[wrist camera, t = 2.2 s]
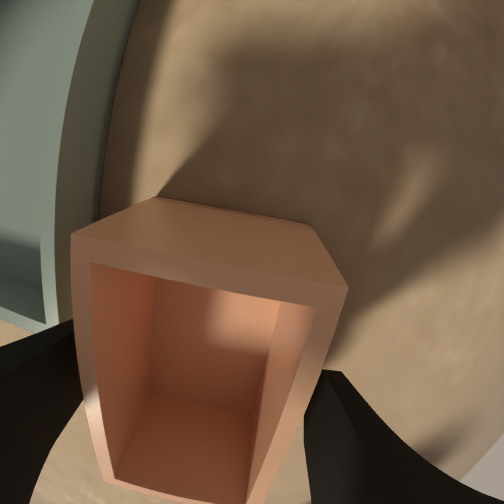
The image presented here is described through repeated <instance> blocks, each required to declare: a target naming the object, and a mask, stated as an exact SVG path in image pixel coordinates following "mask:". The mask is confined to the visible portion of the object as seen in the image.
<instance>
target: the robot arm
mask: <svg viewBox="0 0 504 504" xmlns="http://www.w3.org/2000/svg"><path fill="white" fill-rule="evenodd" d="M83 399H84V398H83V392H82V386H81V380H80V374H79V367H78V360H77V352H76V343H75V334H74V323H73V319H70V320H68V321H65V322H62V323H60V324H57V325H55V326H53V327H50V328H48V329H45V330H43V331H41V332H38V333H36V334H33V335H31V336H28V337H26V338H23V339H21V340H18V341H15V342H12V343H9V344H7V345H4V346H1V347H0V504H29V502H30V499H31V496H32V493H33V490H34V488H35V485H36V482H37V480H38V477H39V475H40V472H41V470H42V468H43V465H44V463H45V461H46V459H47V457H48V454H49V452H50V450H51V448H52V447H53V445H54V443H55V441H56V440H57V438H58V437H59V435H60V434H61V432H62V431H63V429H64V428H65V426H66V425H67V423H68V422H69V420H70V419H71V417H72V416H73V414H74V413H75V411H76V410H77V408H78V407H79V405H80V404H81V402H82V401H83ZM304 448H305V455H306V463H307V470H308V478H309V485H310V493H311V502H312V504H504V501H502V500H499V499H496V498H494V497H491V496H488V495H486V494H483V493H481V492H479V491H476V490H474V489H472V488H470V487H468V486H466V485H464V484H462V483H460V482H459V481H457V480H455V479H454V478H452V477H450V476H448V475H447V474H445V473H444V472H442V471H441V470H439V469H438V468H436V467H435V466H433V465H432V464H431V463H429V462H428V461H427V460H425V459H424V458H423V457H421V456H420V455H419V454H418V453H417V452H415V451H414V450H413V449H412V448H410V447H409V446H408V445H407V444H406V443H405V442H404V441H403V440H402V439H400V438H399V437H398V436H397V435H396V434H395V433H394V432H393V431H392V430H391V429H390V428H389V427H388V426H387V425H386V423H385V422H384V421H383V420H382V419H381V418H380V417H379V416H378V415H377V414H376V412H375V411H374V410H373V409H372V408H371V407H370V406H369V404H368V403H367V402H366V401H365V400H364V398H363V397H362V396H361V395H360V394H359V392H358V391H357V390H356V389H355V388H354V386H353V385H352V384H351V383H350V381H349V380H348V379H347V378H346V377H345V375H344V374H343V373H342V372H341V371H333V370H324V369H322V371H321V374H320V376H319V379H318V382H317V384H316V387H315V389H314V392H313V394H312V397H311V399H310V402H309V404H308V407H307V409H306V412H305V414H304Z"/></svg>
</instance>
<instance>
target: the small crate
mask: <svg viewBox="0 0 504 504" xmlns="http://www.w3.org/2000/svg"><path fill="white" fill-rule="evenodd" d="M70 258H71V293H72V310H73V323H74V334H75V343H76V352H77V360H78V367H79V374H80V380H81V386H82V392H83V398H84V403H85V408H86V413H87V418H88V423H89V427H90V432H91V436H92V440H93V444H94V448H95V452H96V456H97V460H98V463H99V467H100V470H101V474H102V477H103V480H104V481H106V482H109V483H112V484H115V485H118V486H121V487H124V488H127V489H130V490H133V491H136V492H140V493H143V494H147V495H150V496H154V497H158V498H162V499H166V500H170V501H174V502H179V503H183V504H262V503H263V501H264V499H265V497H266V495H267V493H268V491H269V489H270V487H271V485H272V483H273V481H274V479H275V477H276V475H277V473H278V471H279V469H280V467H281V465H282V462H283V460H284V458H285V456H286V454H287V452H288V449H289V447H290V445H291V443H292V440H293V438H294V436H295V434H296V431H297V429H298V427H299V424H300V422H301V420H302V417H303V415H304V412H305V410H306V407H307V405H308V403H309V400H310V398H311V395H312V392H313V390H314V387H315V385H316V382H317V380H318V377H319V374H320V372H321V369H322V366H323V364H324V361H325V358H326V355H327V353H328V350H329V347H330V344H331V341H332V338H333V335H334V333H335V330H336V327H337V324H338V321H339V318H340V315H341V311H342V308H343V305H344V302H345V299H346V296H347V292H348V289H349V287H348V285H347V283H346V282H345V280H344V278H343V277H342V275H341V273H340V272H339V270H338V268H337V267H336V265H335V263H334V262H333V260H332V258H331V257H330V255H329V253H328V252H327V250H326V249H325V247H324V245H323V244H322V242H321V240H320V239H319V237H318V236H317V234H316V232H315V231H314V229H313V228H312V226H311V225H309V224H304V223H299V222H294V221H289V220H284V219H279V218H273V217H268V216H263V215H258V214H253V213H247V212H242V211H237V210H231V209H226V208H220V207H215V206H209V205H203V204H198V203H192V202H186V201H180V200H174V199H168V198H162V197H156V196H155V197H153V198H150V199H148V200H145V201H143V202H141V203H138V204H136V205H133V206H131V207H129V208H126V209H124V210H122V211H119V212H117V213H115V214H113V215H110V216H108V217H106V218H104V219H101V220H99V221H97V222H95V223H92V224H90V225H88V226H86V227H84V228H82V229H79V230H77V231H75V232H73V233H71V246H70Z"/></svg>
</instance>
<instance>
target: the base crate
mask: <svg viewBox="0 0 504 504" xmlns="http://www.w3.org/2000/svg"><path fill="white" fill-rule="evenodd" d="M138 3H139V0H0V319H2V320H4V321H6V322H8V323H11V324H13V325H15V326H18V327H20V328H22V329H25V330H27V331H30V332H32V333H35V334H36V333H38V332H41V331H43V330H45V329H48V328H50V327H53V326H55V325H57V324H60V323H62V322H65V321H68V320H70V319H73V310H72V293H71V258H70V246H71V233H73V232H75V231H77V230H79V229H82V228H84V227H86V226H88V225H90V224H92V223H95V222H97V221H98V217H99V203H100V191H101V181H102V172H103V163H104V155H105V148H106V141H107V134H108V128H109V122H110V116H111V111H112V105H113V100H114V95H115V90H116V85H117V81H118V76H119V72H120V67H121V63H122V59H123V55H124V51H125V47H126V44H127V40H128V36H129V33H130V29H131V26H132V22H133V19H134V16H135V13H136V9H137V6H138Z"/></svg>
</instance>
